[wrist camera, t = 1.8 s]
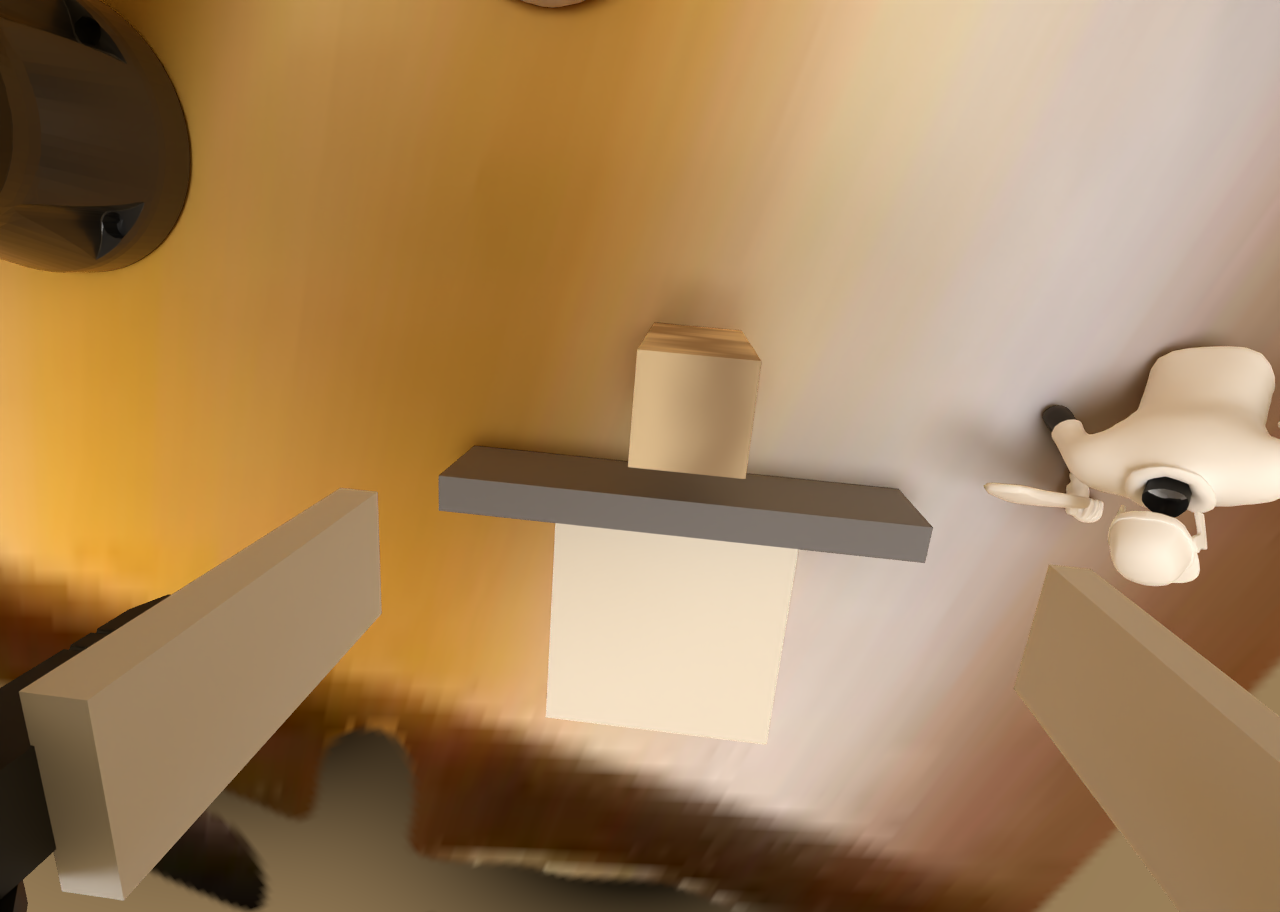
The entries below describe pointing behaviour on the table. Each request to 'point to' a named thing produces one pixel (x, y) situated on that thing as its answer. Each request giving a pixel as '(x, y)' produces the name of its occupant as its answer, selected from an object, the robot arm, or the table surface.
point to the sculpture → (553, 2)
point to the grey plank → (686, 503)
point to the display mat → (667, 632)
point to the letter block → (694, 401)
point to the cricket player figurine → (1170, 459)
